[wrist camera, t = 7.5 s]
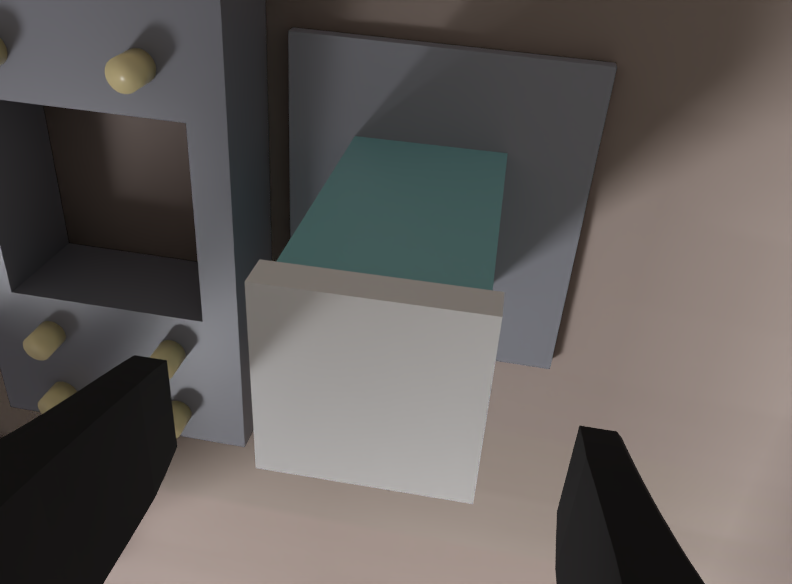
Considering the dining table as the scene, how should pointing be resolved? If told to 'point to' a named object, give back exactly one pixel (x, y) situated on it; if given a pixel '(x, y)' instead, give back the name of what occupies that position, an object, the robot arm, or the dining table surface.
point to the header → (119, 270)
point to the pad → (465, 146)
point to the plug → (382, 323)
